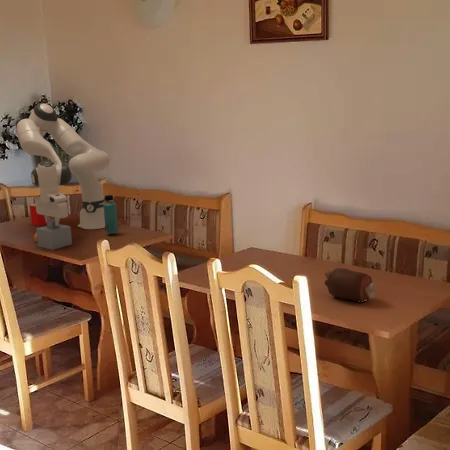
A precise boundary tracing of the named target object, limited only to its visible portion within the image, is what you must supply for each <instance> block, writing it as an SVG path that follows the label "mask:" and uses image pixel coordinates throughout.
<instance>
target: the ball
mask: <svg viewBox="0 0 450 450" xmlns="http://www.w3.org/2000/svg"><path fill="white" fill-rule="evenodd" d="M33 238H34V240H35V241H36V242H38V239H37V232H35V234H34V236H33Z"/></svg>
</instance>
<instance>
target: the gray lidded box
mask: <svg viewBox="0 0 450 450" xmlns="http://www.w3.org/2000/svg"><path fill="white" fill-rule="evenodd" d="M54 222H55V218H50V220H47V224H46V225H44V226H41V227H40V226H39V227H37V228H36V233H37V239H38V244H37V247H38V248H44V249H48V250H51V251H52V250H53V251H54V250H58V249H61V248H65V247H67V246H71V245H73V240H72V227H71V226H70V225H66V224H65V225H64V224H60V223H59V226H54Z"/></svg>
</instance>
